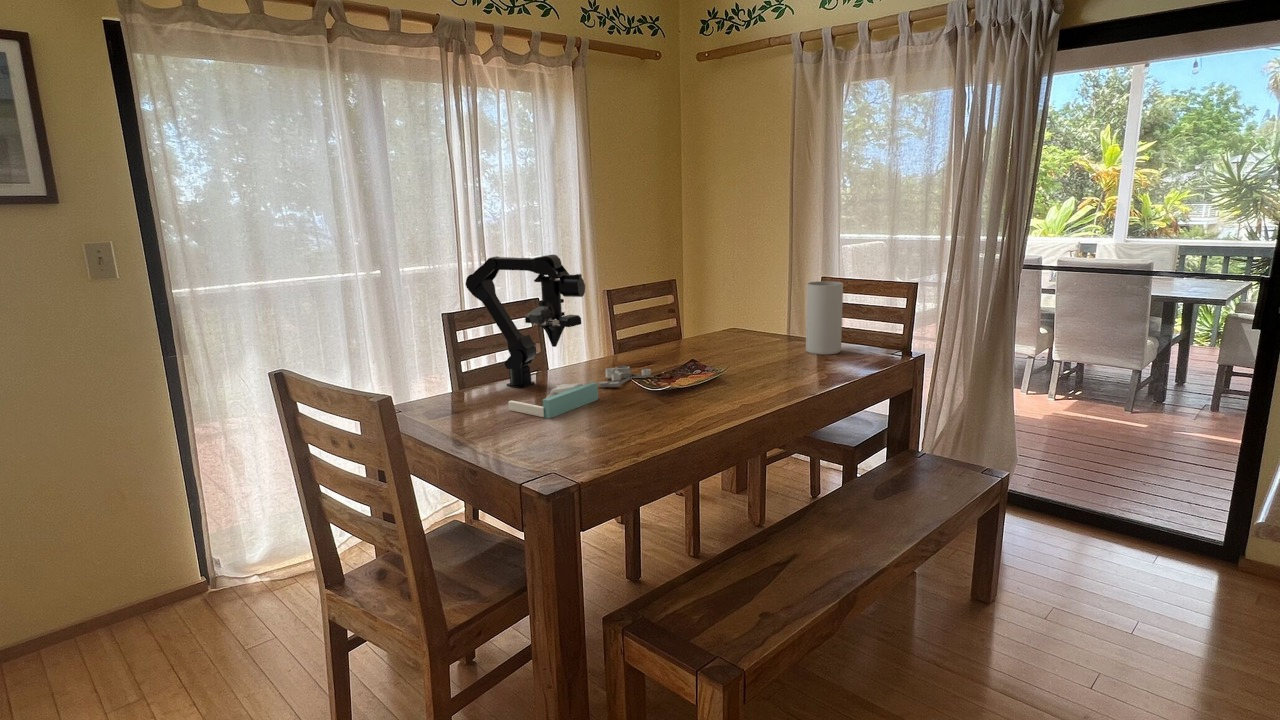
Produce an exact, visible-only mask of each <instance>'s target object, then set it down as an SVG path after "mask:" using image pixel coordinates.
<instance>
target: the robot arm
mask: <svg viewBox="0 0 1280 720" xmlns="http://www.w3.org/2000/svg"><path fill="white" fill-rule="evenodd" d="M499 271H522V272H523V271H528V272H532V273H534V274H538V275H537V277H536V278H535V279H534V280H533V282H534V283H540V286H541V289H540V290H541V300H540V299H539V301H538V306H537V307H535V308H533V310H531V311H530V312H528V313H526V314H525V316H524V320H525V321H524V323H526V324H532V325H534V324H537V325H538V327H540V328H542V329H543V330H544V331H545V333H546V335H547V337H548V339H549V342H550V344H551V346H552V347H553V348H555V347H557V345H558V343H559V342H560V341H559V340H560V338H561V336H562V334H563V332H564V329H565V328H571V327H576V326H579V325H582V317H581V316H580V315H578V314H566V315H565V312H564V311H562V304H563V303H564V301H565V300H564V298H566V297H567V298H568V297H570V298H582V297H584V296H585V293H586V284H585V281H584V279H583V277H582V276H583V275H582V274H581V273H576V274H570V273H569V272H568V271H567V270H566V268H565V267H564V265H563V264H562V260H561V259H560V257H559V256H558V255H557V254H549V255H547V254H546V255H541V256H537V257H509V256H508V257H507V256H505V257H504V256H502V257H501V256H493V257H492V256H491V257H488V258H487V259H486V260H485V262H484V263H483V264H482V265H481V266H480V267H478V268H477V269H476V270H475V271H474V272H473V273H471V274H469V275H468V276H467V277H466V281H465V287H466V289H467V290H468V291H469V293H471V295H472V296H473V297H474V298H476V299H477V300H479V301H480V302H481V303H482V304H483V306H484V307H485V309H486V310H487V312H488V313H489V315H490V316H491V318H492V319H493V321H494V323H495V324H496V326H497V327H498V329H499V331H500V332H501V334H502V335H503V337H504V339H505V340H506V343H507V344H506V345H507V350H508V353H509V357H508V358H507V359H506V360H505V361H504V366H505V368H506V369H507V370H508V372H509V373H508V374H509V383H506V386H507V387H513V388H519V389H523V388H525V387H529V386H532V385H534V384H535V382H534V381H532V374H531V369H530V368H531V367H530V364H532V363H533V360H534V358H535V357H536V356H537V347H536V346H537V344H536V343H535V342H534V340H533V339H532V336H530V334H526V335H523V333H521V332H520V331H519V329H518V327H517V326H516V324H515V323H514V321H513V320H512V318H511V316H510V315H509V314H508V311H507V310H506V308H505V307H504V305H503V304H502V302H501V300H499V297H498V295H497V293H496V287H495V286H496V285H495V283H494V279H495V278H496V277H497V275H498V273H499ZM561 295H562V296H563V297H564V298H562V296H561Z"/></svg>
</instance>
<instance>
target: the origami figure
mask: <svg viewBox="0 0 1280 720" xmlns="http://www.w3.org/2000/svg"><path fill="white" fill-rule="evenodd" d="M558 385H559V386H558V387H556V386H555V387H554V388H552V389H550V393H549V394H547V396H546V397H545V399H546V398H549V397H551V396H553V394H554V393H556V392H560V393H562V391H567V390H571V389H574V388H577V387H580V386H583V383H582V382H581V383H580V382H579V383H561V384H558Z"/></svg>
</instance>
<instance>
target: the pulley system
mask: <svg viewBox="0 0 1280 720" xmlns="http://www.w3.org/2000/svg"><path fill="white" fill-rule="evenodd" d="M630 367H631V366H629V365H628V366H626V365H621V366H615V367H608V368H605V378H607V379H609V378H610V379H611V380H607V381H598V382H597V386H598V388H599V387H600V388H602V389H606V388H618V387H620V386H621V385H623V384H625V383H627V382H628V381H629V380H633V379H632V378H646V377H654V376H652V375H656V374H657V373H654V374H652V369H650V368H644V369H643V368H642V369H641V374H635V373H632V371H631V370H630V369H631V368H630ZM664 372H665V371H663V372H662V373H664ZM632 375H633V376H632ZM630 376H631V377H630Z"/></svg>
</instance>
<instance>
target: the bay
mask: <svg viewBox="0 0 1280 720" xmlns="http://www.w3.org/2000/svg"><path fill="white" fill-rule="evenodd" d="M559 385H560V384H555V388H556V387H558V386H559ZM598 389H599V385H598V382H593V381H592V382H588V383H584V384H582V386H580V387H577V388H574V389H571V390H567V391H562V393H560V392H555V394H554V395H551V396H550V397H549V398H546V397H545V398H543V399H542V406H540V405H537V404H530V403H528V402H521V401H517V400H516V401H515V400H508V410H509V411H512V412H517V413H521V414H527V415H531V416H535V417H536V416H537V417H541V418H546V419H551V418H554V417H556V416H560V415H562V414H565V413H567V412H570V411H572V410H575V409H577V408H579V407H582V406H585V405H588V404H590V403H593V402H595V401H598V400H599V393H598V392H599V391H598Z"/></svg>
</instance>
